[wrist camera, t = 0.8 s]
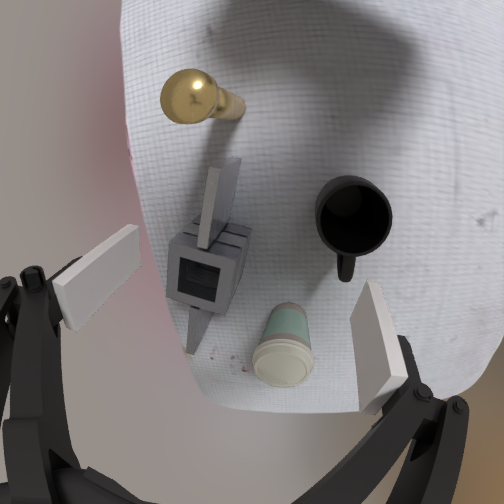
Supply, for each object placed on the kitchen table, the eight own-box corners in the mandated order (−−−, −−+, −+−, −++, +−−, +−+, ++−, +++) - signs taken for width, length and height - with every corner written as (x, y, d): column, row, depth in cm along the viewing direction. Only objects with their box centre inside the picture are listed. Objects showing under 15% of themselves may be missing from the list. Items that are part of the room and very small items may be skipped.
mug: (307, 249, 39) (307, 284, 31) (315, 164, 34) (320, 176, 26) (363, 254, 38) (376, 290, 30) (376, 172, 33) (398, 187, 24)
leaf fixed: (199, 215, 40) (169, 241, 31) (252, 228, 39) (236, 260, 31) (188, 307, 48) (165, 345, 39) (231, 320, 47) (215, 361, 38)
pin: (218, 88, 32) (166, 67, 18) (254, 93, 31) (220, 71, 18) (211, 121, 34) (156, 121, 20) (246, 127, 34) (208, 127, 20)
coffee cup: (255, 302, 45) (239, 354, 34) (306, 289, 42) (304, 343, 31) (272, 339, 48) (262, 393, 37) (320, 330, 45) (320, 385, 34)
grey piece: (209, 151, 36) (178, 160, 27) (266, 164, 35) (253, 176, 26) (192, 262, 44) (166, 296, 35) (241, 276, 43) (224, 315, 34)
